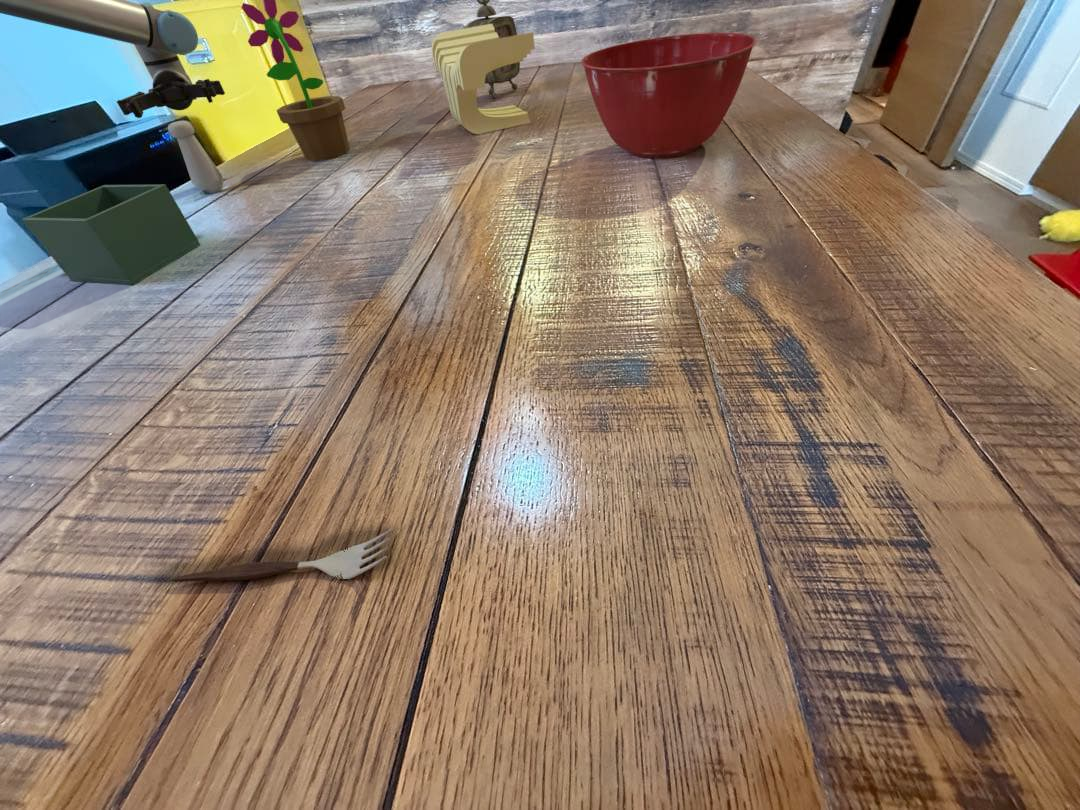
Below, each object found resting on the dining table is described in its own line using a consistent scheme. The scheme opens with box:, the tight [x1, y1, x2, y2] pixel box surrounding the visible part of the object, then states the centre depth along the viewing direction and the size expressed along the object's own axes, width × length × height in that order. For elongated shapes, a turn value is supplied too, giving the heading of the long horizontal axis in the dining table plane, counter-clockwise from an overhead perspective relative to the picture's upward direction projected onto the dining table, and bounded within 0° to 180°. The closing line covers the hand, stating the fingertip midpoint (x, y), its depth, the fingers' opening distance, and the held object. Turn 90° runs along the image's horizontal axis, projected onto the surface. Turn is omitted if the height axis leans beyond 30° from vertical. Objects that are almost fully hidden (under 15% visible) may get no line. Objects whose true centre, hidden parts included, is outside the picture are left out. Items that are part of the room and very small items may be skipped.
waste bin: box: [21, 183, 201, 286], centre depth 79 cm, size 13×13×10 cm
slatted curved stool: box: [430, 24, 536, 135], centre depth 117 cm, size 30×16×18 cm, turn 20°
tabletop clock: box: [463, 0, 521, 101], centre depth 138 cm, size 14×9×25 cm, turn 149°
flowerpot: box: [241, 0, 350, 162], centre depth 109 cm, size 14×14×30 cm
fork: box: [171, 528, 393, 583], centre depth 35 cm, size 3×16×2 cm, turn 93°
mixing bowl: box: [580, 32, 757, 159], centre depth 90 cm, size 28×28×16 cm
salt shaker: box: [167, 120, 224, 195], centre depth 103 cm, size 6×6×13 cm
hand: (172, 102), depth 104 cm, fingers open, 13 cm apart
